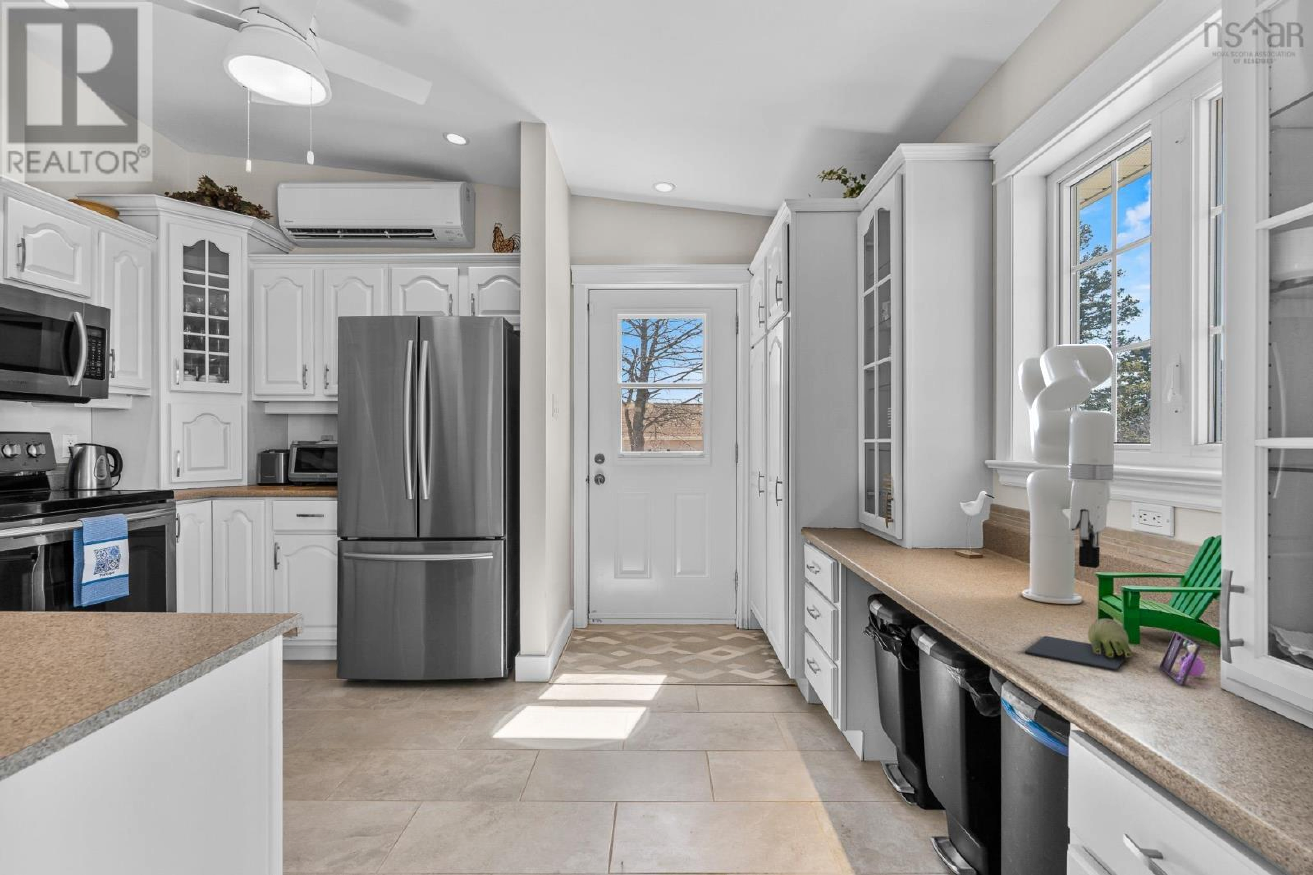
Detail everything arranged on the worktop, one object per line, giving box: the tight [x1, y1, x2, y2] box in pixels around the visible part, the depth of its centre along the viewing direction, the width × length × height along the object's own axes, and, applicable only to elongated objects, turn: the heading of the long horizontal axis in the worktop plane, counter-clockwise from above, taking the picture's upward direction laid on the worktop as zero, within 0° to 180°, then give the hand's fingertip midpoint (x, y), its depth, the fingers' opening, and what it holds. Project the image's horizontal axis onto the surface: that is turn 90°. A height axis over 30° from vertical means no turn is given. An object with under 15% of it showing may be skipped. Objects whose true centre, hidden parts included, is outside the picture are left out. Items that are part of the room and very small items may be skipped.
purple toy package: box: [1159, 630, 1206, 686], centre depth 114 cm, size 7×5×9 cm
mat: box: [1024, 635, 1128, 672], centre depth 127 cm, size 14×14×1 cm
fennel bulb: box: [1087, 617, 1134, 659], centre depth 128 cm, size 6×5×12 cm
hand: (1089, 566), depth 139 cm, fingers closed
